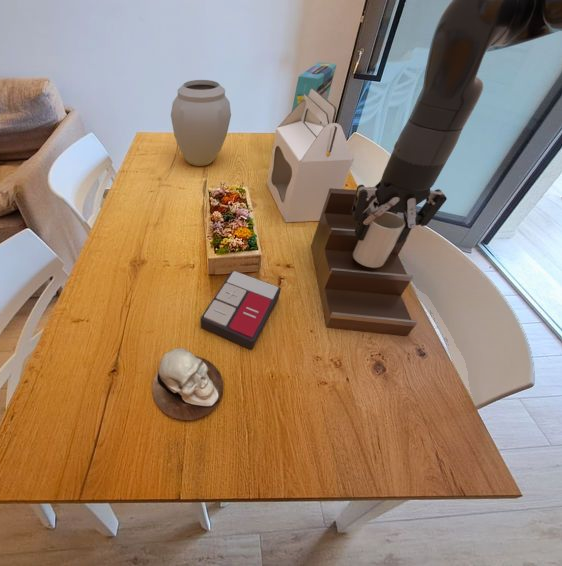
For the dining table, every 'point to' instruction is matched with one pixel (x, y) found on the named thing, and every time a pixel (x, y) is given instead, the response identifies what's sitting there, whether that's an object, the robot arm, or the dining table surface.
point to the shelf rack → (357, 275)
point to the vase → (200, 120)
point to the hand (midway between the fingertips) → (377, 239)
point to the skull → (186, 385)
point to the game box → (314, 82)
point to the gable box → (308, 159)
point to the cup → (379, 240)
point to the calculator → (240, 309)
